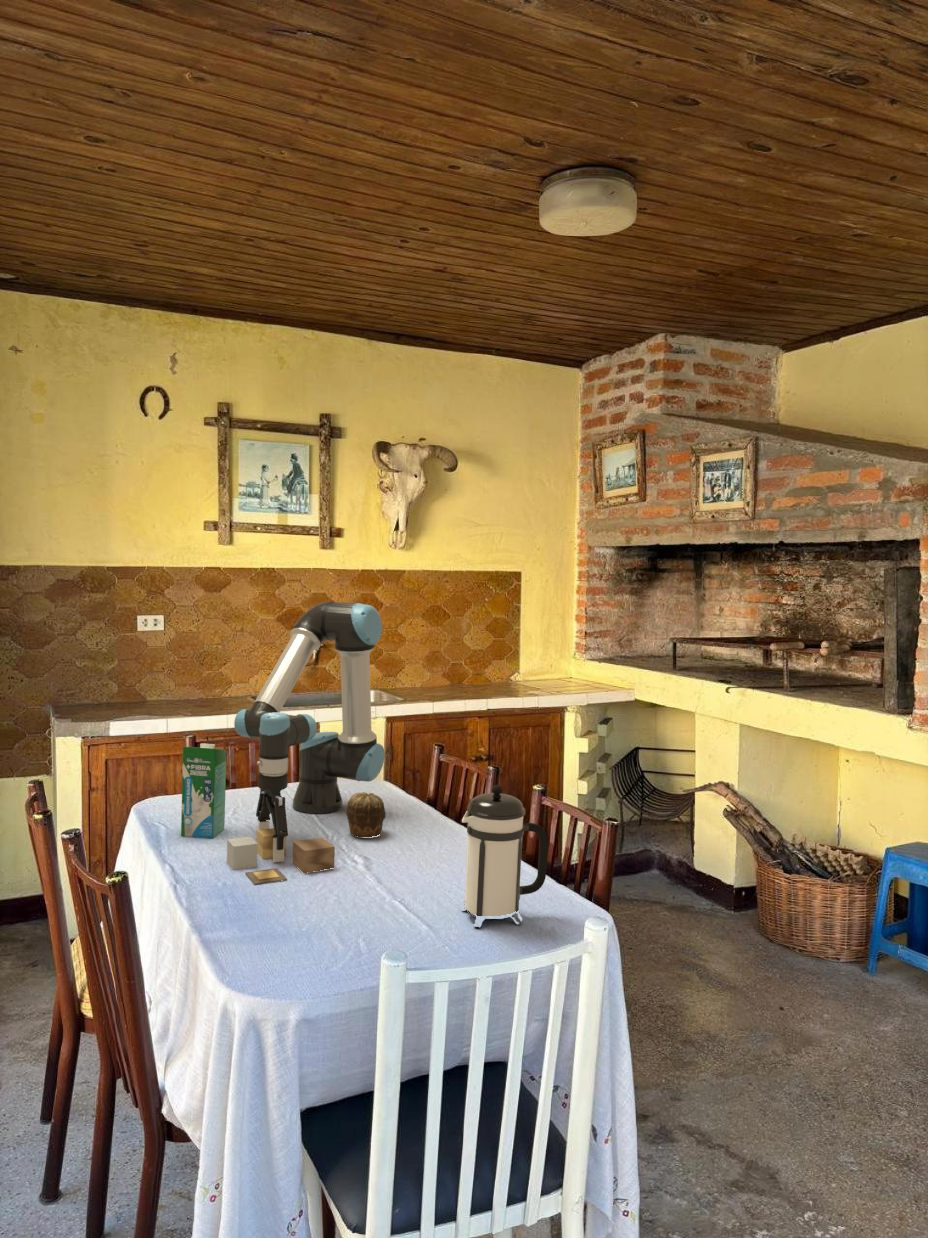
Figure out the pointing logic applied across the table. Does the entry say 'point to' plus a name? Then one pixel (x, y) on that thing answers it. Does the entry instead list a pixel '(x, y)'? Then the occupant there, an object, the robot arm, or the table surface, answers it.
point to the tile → (265, 876)
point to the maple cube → (266, 843)
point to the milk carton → (203, 791)
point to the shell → (365, 814)
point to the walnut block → (313, 854)
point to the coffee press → (498, 854)
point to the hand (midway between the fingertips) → (270, 853)
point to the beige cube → (242, 853)
